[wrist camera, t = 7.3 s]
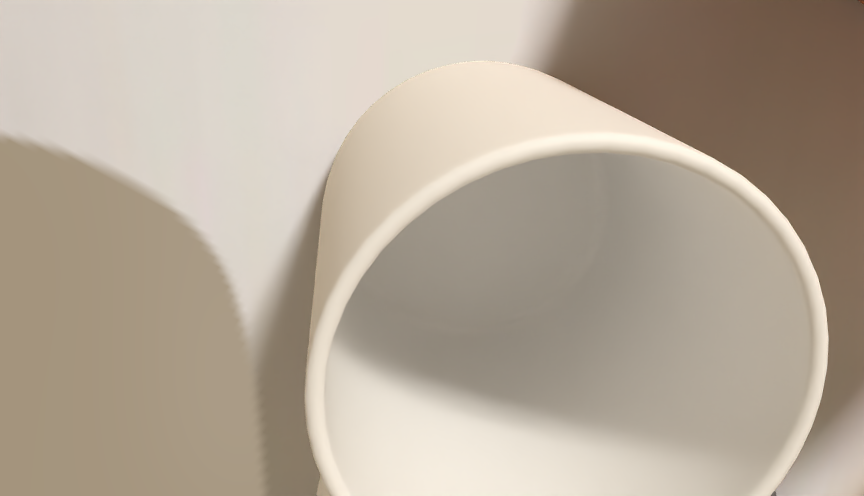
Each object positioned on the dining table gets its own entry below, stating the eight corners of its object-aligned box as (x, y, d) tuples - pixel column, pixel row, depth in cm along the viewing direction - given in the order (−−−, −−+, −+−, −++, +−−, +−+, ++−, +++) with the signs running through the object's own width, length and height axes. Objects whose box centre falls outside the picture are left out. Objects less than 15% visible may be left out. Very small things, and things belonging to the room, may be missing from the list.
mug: (440, 476, 24) (502, 804, 15) (202, 358, 22) (93, 655, 13) (674, 161, 22) (937, 312, 12) (430, -9, 20) (512, 12, 10)
